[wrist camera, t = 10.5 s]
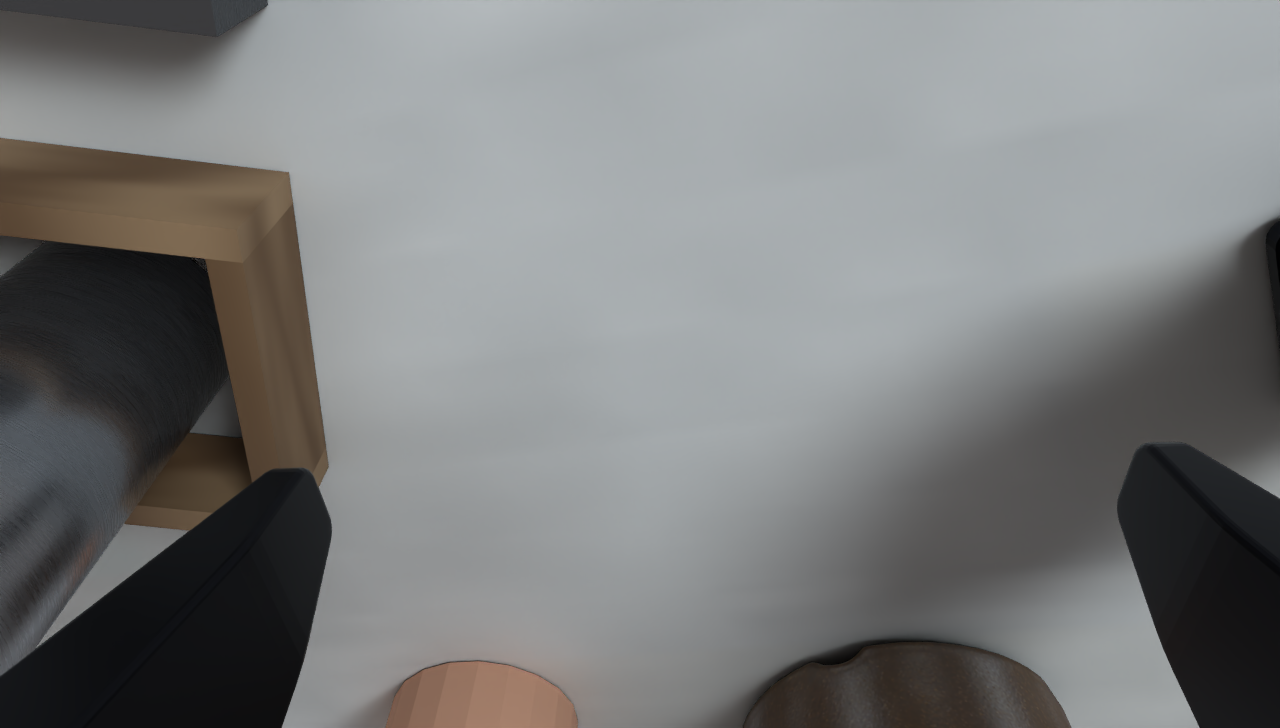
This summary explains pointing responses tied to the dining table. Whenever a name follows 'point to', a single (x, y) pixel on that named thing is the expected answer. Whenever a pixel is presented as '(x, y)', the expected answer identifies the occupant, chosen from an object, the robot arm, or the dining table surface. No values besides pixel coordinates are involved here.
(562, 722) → the pepper shaker
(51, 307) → the brass-banded metal cylinder
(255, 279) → the wooden square frame
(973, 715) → the plant pot
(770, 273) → the dining table surface
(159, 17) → the socket block
